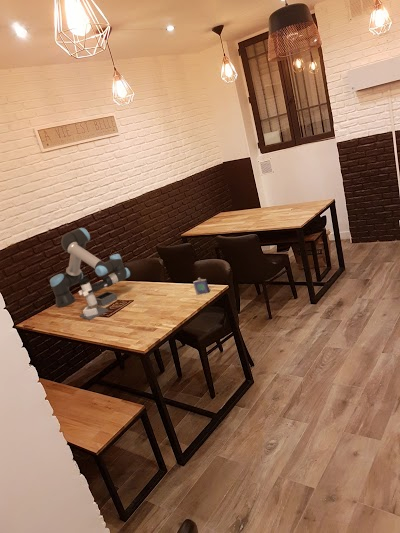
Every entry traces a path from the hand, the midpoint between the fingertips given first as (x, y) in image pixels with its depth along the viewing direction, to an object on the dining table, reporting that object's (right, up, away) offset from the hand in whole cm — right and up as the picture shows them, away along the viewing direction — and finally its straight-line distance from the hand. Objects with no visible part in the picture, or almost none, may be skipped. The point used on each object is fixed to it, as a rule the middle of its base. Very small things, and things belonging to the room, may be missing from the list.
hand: (81, 293), depth 277 cm
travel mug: (+7, -8, +6) cm, 12 cm away
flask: (+83, +1, -12) cm, 84 cm away
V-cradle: (+7, -14, +7) cm, 17 cm away
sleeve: (+11, -7, +26) cm, 29 cm away
